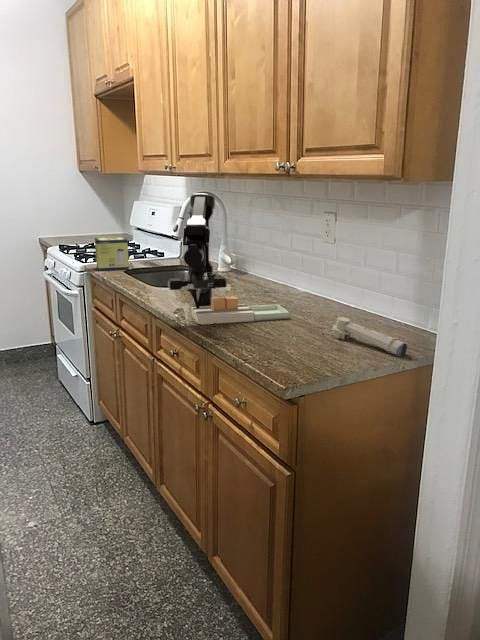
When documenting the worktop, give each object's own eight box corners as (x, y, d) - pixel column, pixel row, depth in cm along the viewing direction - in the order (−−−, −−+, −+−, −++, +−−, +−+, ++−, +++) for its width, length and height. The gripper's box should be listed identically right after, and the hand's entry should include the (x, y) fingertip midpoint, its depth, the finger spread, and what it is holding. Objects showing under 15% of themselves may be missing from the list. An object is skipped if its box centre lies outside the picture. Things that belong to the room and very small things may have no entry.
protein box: (96, 268, 284) (94, 237, 280) (126, 266, 289) (125, 236, 285) (98, 271, 274) (96, 240, 270) (129, 269, 279) (128, 239, 275)
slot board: (191, 315, 190) (191, 305, 189) (244, 312, 195) (244, 302, 194) (198, 324, 179) (198, 313, 178) (254, 320, 184) (254, 310, 183)
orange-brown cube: (211, 308, 187) (210, 297, 186) (222, 308, 188) (222, 296, 187) (213, 311, 183) (213, 300, 182) (225, 311, 184) (225, 299, 183)
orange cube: (223, 308, 188) (223, 296, 187) (235, 307, 189) (235, 296, 188) (226, 310, 185) (226, 299, 183) (238, 310, 186) (238, 298, 184)
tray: (245, 312, 195) (245, 306, 194) (277, 310, 198) (277, 304, 197) (255, 320, 184) (255, 314, 183) (289, 318, 187) (289, 312, 186)
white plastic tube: (398, 345, 146) (330, 313, 165) (393, 367, 149) (327, 334, 167) (410, 341, 150) (343, 311, 168) (405, 363, 152) (339, 331, 170)
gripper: (171, 267, 170) (173, 315, 174) (230, 264, 175) (230, 312, 179) (166, 261, 180) (168, 307, 184) (222, 259, 185) (222, 304, 189)
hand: (197, 308), depth 184 cm, fingers closed
